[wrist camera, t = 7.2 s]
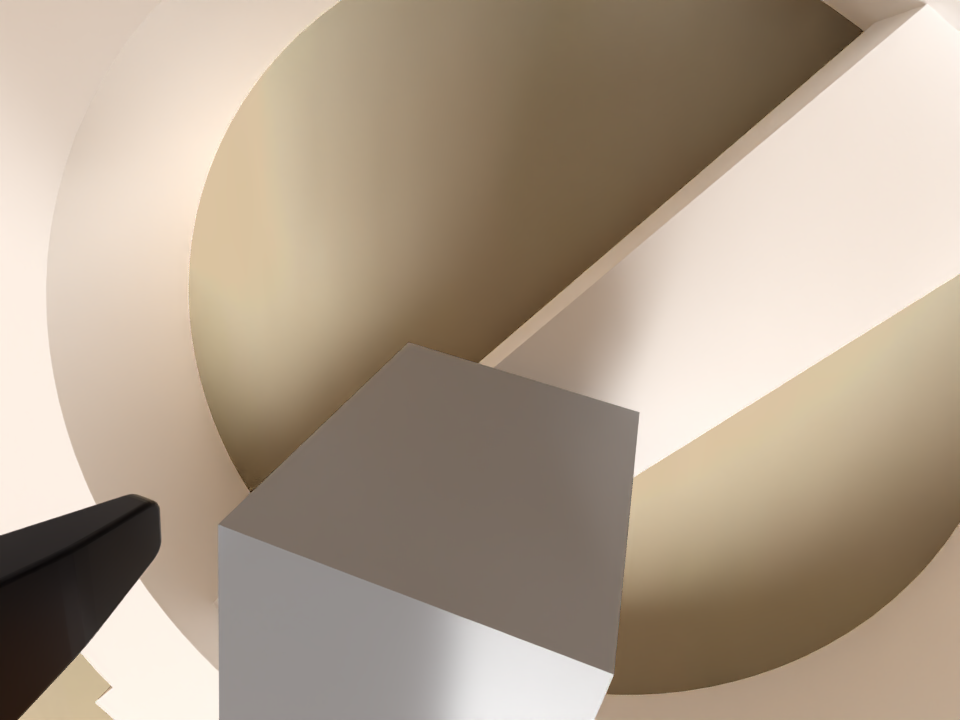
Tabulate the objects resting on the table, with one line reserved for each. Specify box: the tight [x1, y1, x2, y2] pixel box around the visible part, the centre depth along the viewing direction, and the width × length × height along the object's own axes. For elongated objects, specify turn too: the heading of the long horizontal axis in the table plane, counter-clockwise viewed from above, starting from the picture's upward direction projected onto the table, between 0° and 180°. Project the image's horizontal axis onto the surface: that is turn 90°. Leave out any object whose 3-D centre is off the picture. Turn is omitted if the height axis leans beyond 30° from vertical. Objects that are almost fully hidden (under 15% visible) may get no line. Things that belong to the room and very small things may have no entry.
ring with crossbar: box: [0, 0, 960, 720], centre depth 13 cm, size 28×28×5 cm
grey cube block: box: [218, 342, 640, 720], centre depth 9 cm, size 5×4×5 cm
